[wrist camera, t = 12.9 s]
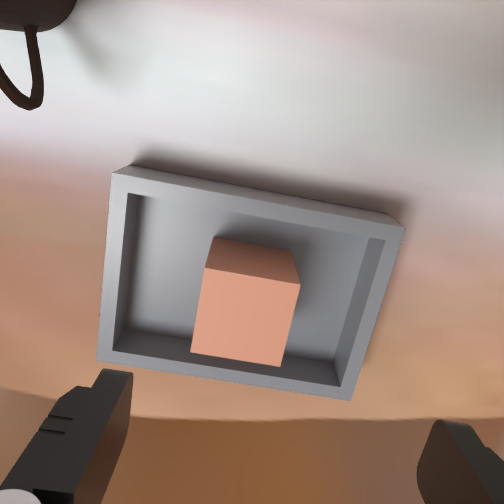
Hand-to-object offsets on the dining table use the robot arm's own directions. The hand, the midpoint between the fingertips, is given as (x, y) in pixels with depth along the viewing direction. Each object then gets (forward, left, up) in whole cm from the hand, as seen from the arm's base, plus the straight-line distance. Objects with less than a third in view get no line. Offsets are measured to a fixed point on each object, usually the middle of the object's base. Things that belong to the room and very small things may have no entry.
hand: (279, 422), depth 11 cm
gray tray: (0, +4, -20) cm, 20 cm away
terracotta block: (0, +4, -19) cm, 19 cm away
